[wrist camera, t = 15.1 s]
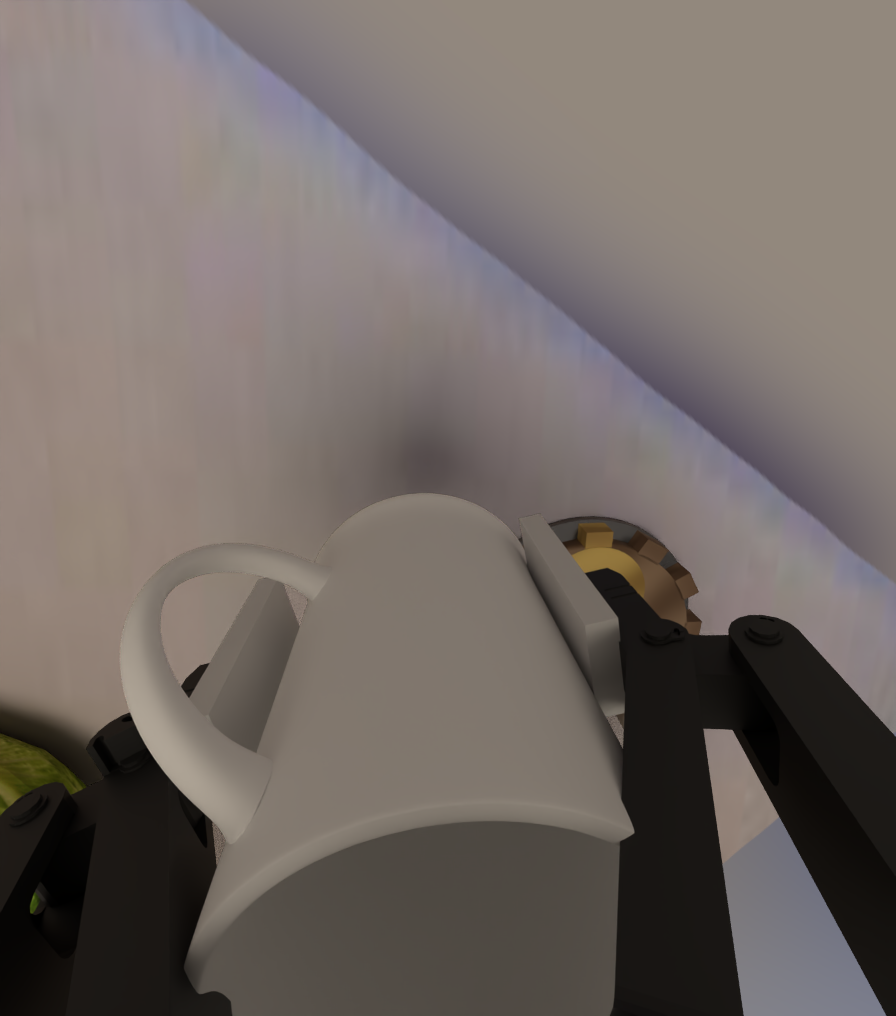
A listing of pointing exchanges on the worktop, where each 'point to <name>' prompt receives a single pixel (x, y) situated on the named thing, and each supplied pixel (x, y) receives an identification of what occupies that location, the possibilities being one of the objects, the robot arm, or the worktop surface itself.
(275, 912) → the mug
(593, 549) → the sprocket
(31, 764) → the lettuce
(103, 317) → the worktop surface
